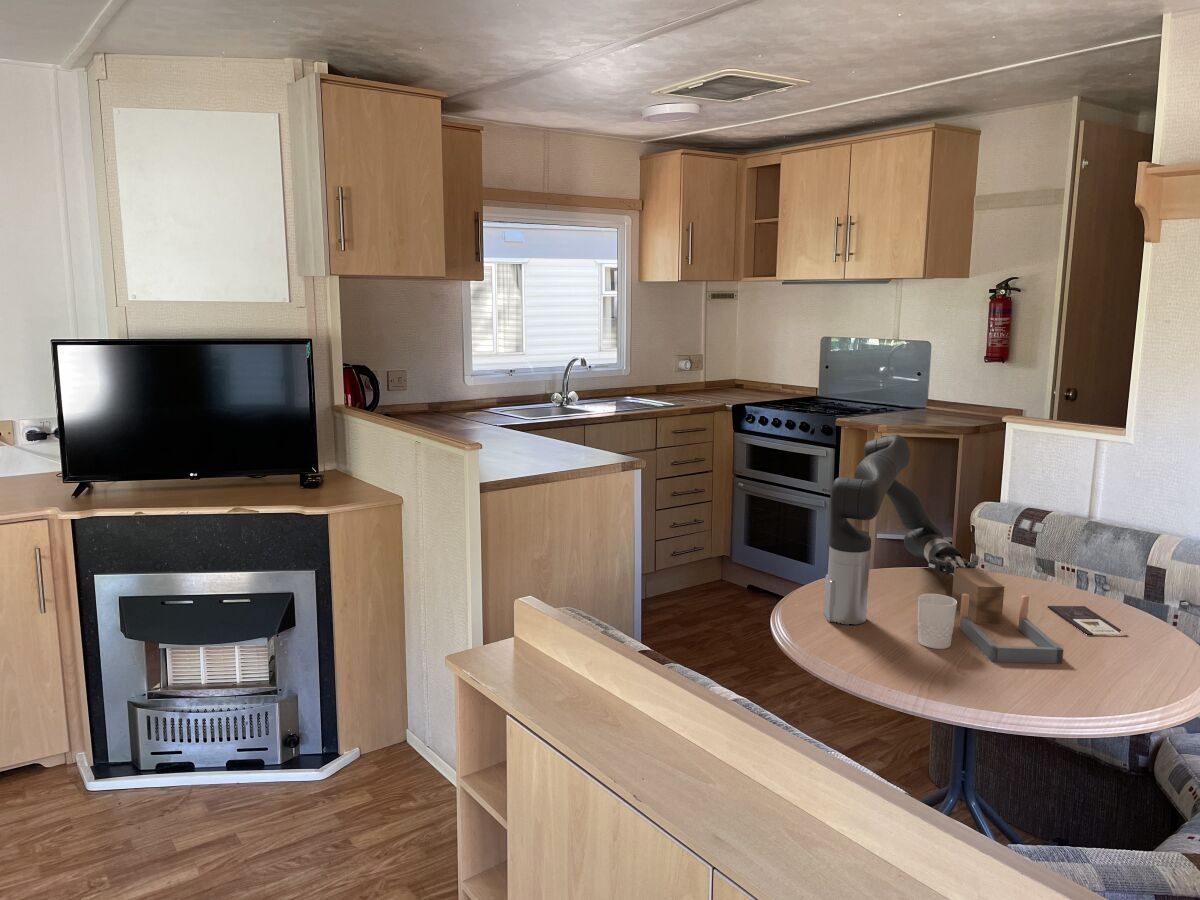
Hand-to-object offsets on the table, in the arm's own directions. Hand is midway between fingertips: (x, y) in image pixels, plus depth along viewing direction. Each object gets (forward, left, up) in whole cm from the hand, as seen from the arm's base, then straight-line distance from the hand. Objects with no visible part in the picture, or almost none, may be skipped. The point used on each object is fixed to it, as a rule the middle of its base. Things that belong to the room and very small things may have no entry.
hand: (965, 575), depth 223 cm
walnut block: (0, -8, -7) cm, 11 cm away
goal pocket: (0, -27, -6) cm, 28 cm away
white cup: (-16, -28, -7) cm, 33 cm away
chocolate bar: (+24, -12, -7) cm, 28 cm away
